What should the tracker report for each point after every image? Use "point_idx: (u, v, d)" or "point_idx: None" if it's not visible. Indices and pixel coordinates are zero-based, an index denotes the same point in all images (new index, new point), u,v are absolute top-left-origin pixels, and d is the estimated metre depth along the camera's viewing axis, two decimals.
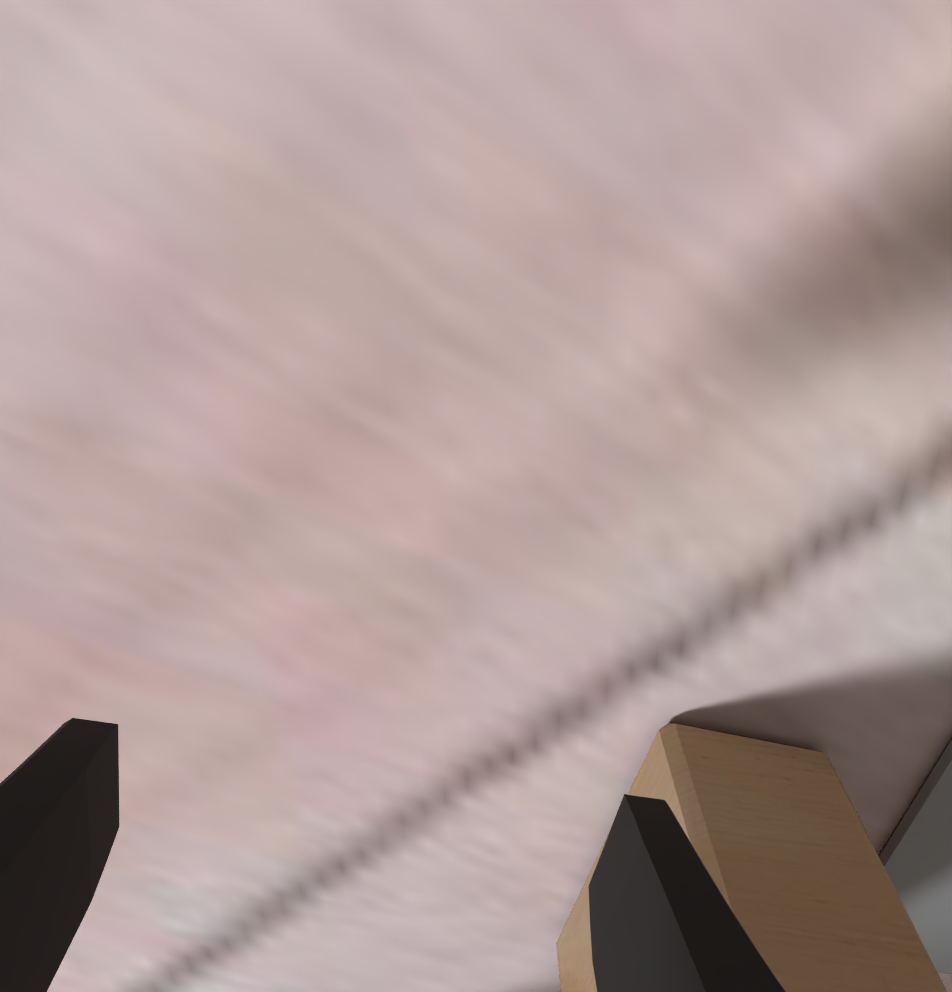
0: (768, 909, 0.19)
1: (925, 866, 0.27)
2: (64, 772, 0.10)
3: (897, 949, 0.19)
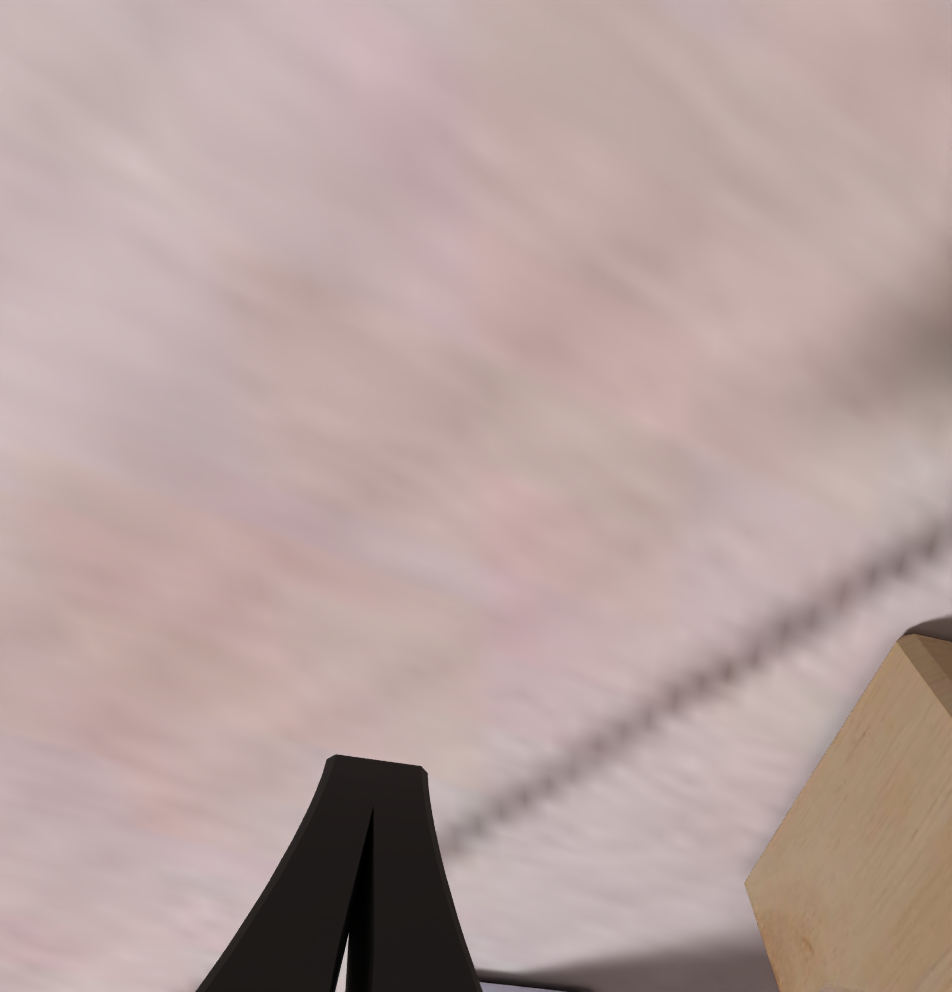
0: None
1: None
2: (355, 811, 0.10)
3: None
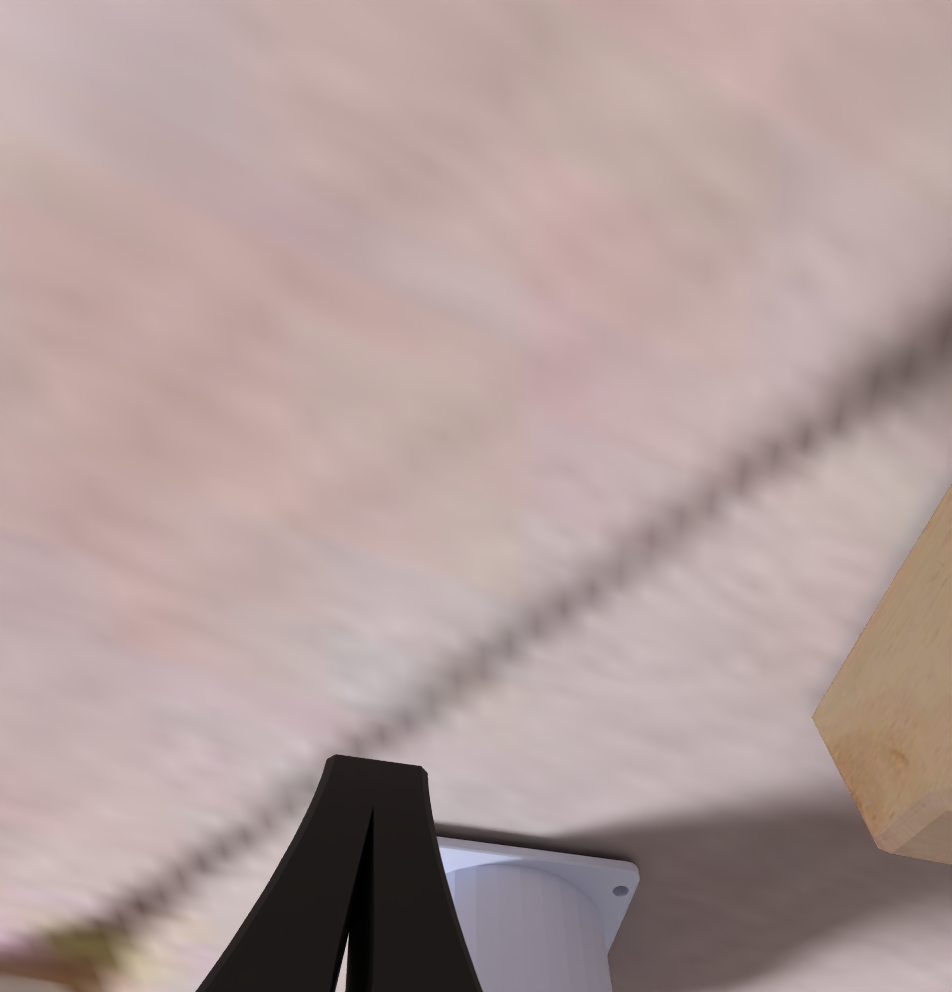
0: None
1: None
2: (355, 812, 0.10)
3: None
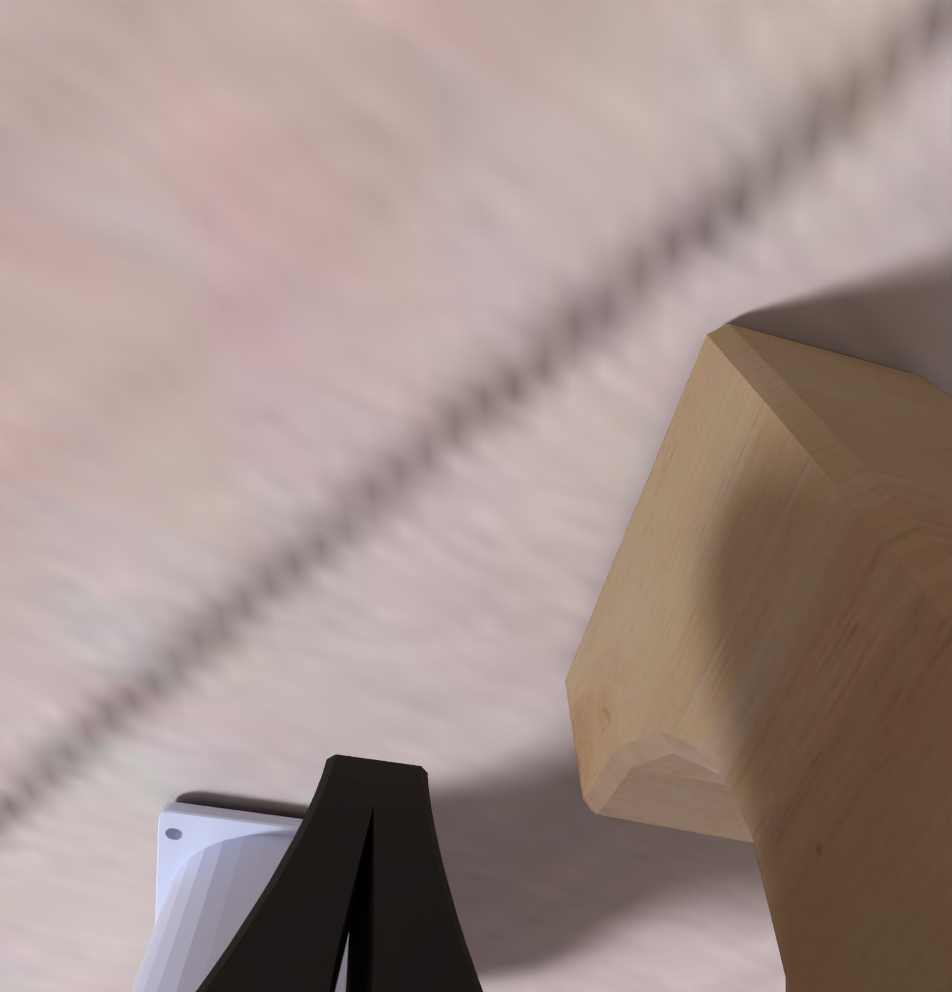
0: (882, 440, 0.13)
1: None
2: (355, 811, 0.10)
3: None
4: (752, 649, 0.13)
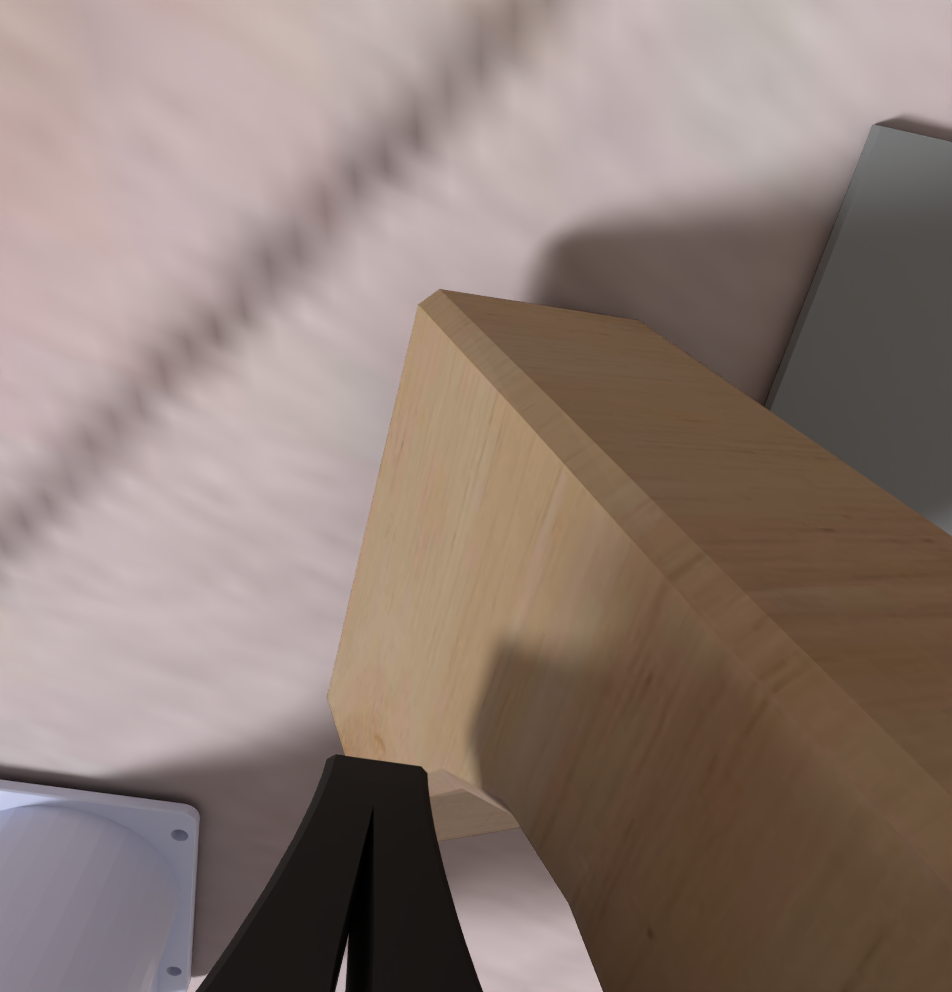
0: (630, 427, 0.12)
1: None
2: (355, 811, 0.10)
3: (805, 455, 0.13)
4: (535, 688, 0.12)
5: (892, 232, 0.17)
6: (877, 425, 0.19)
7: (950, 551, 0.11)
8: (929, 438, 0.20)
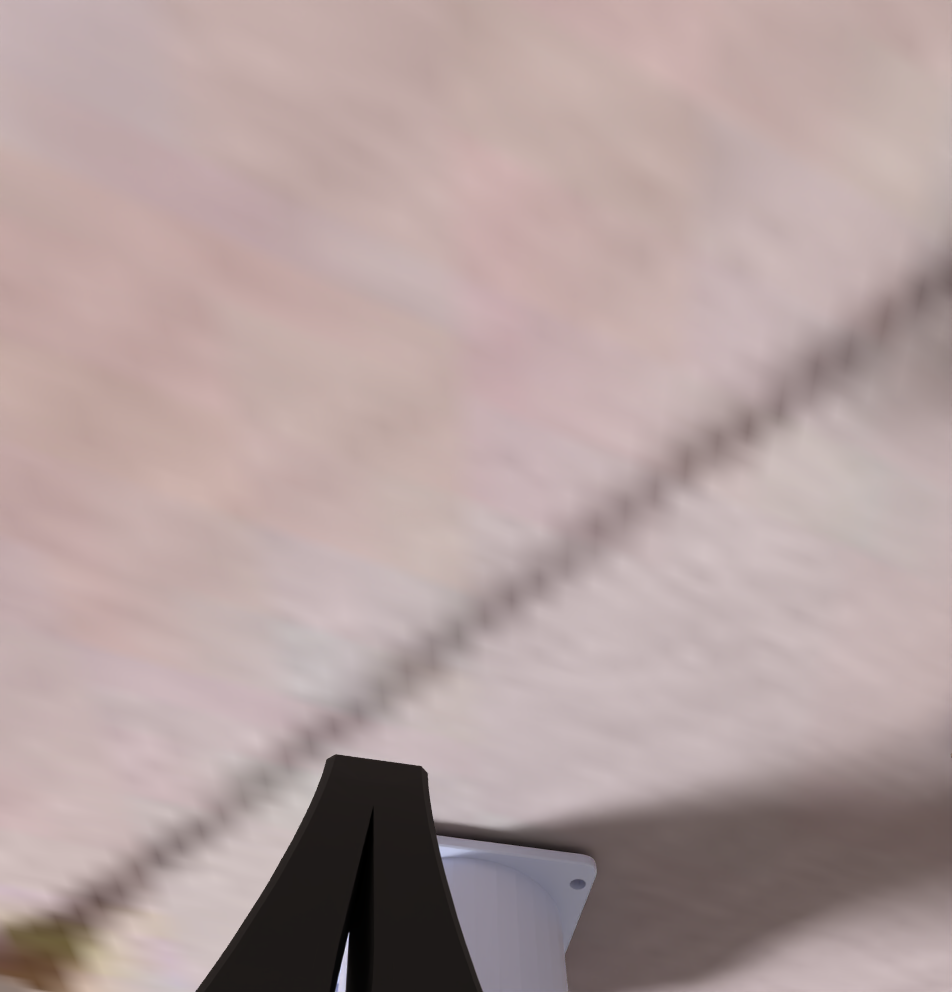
0: None
1: None
2: (355, 811, 0.10)
3: None
4: None
5: None
6: None
7: None
8: None
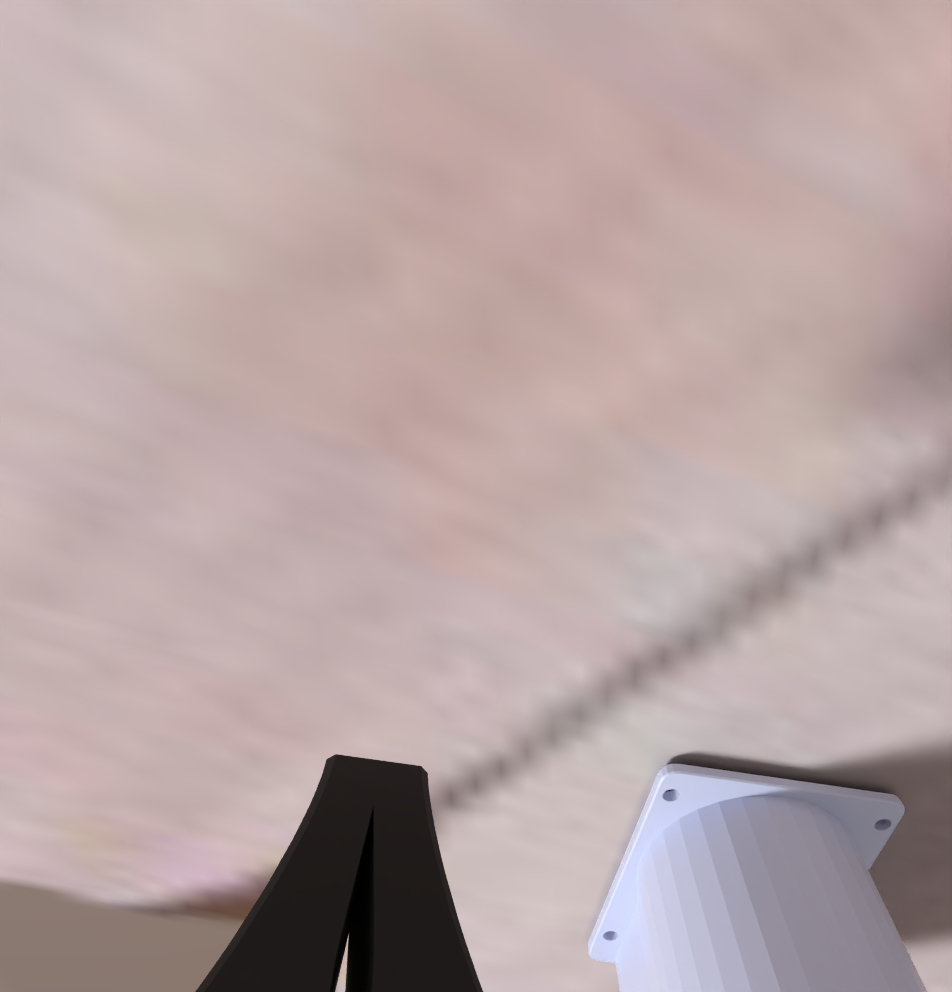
0: None
1: None
2: (355, 811, 0.10)
3: None
4: None
5: None
6: None
7: None
8: None
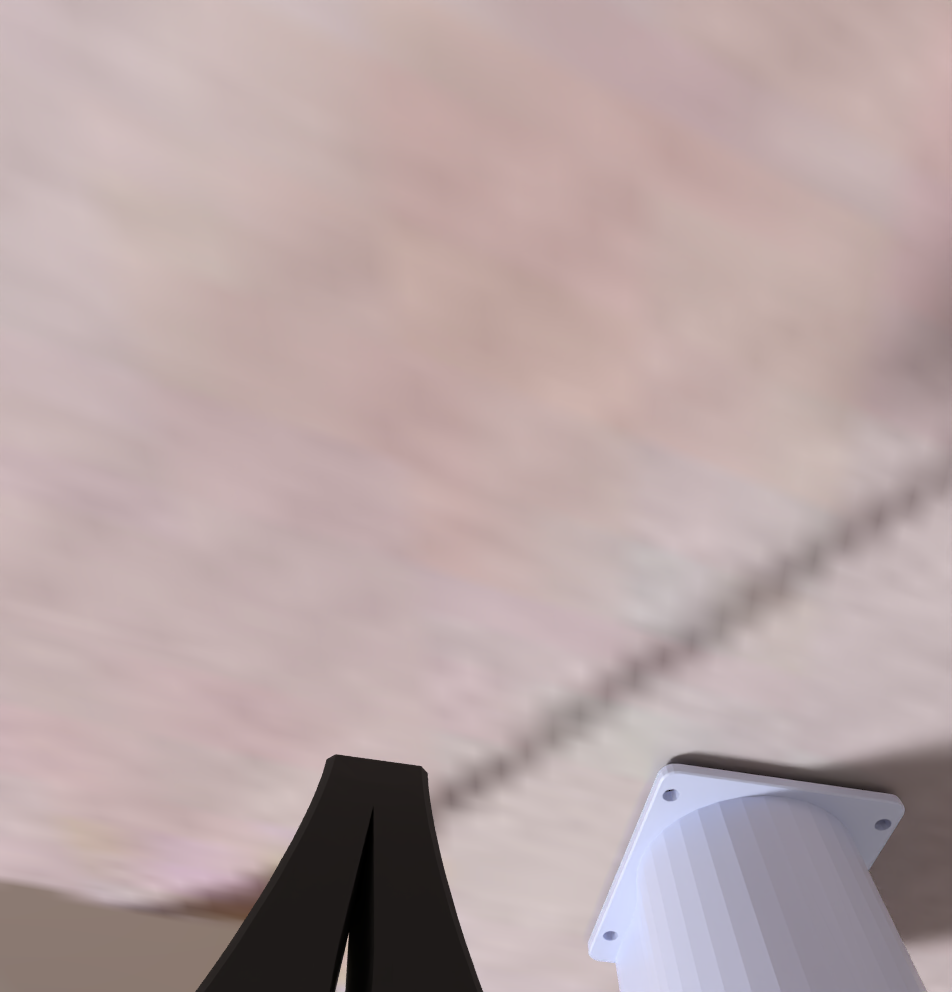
0: None
1: None
2: (355, 811, 0.10)
3: None
4: None
5: None
6: None
7: None
8: None
